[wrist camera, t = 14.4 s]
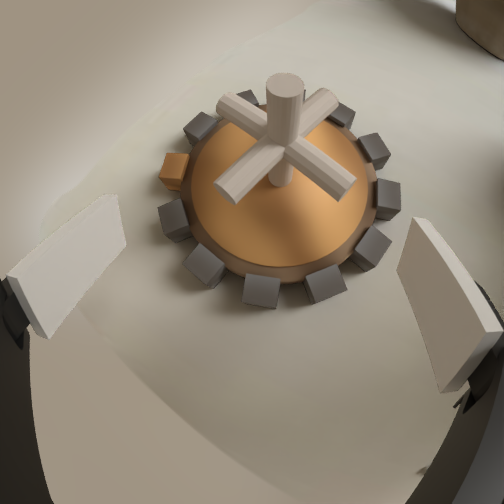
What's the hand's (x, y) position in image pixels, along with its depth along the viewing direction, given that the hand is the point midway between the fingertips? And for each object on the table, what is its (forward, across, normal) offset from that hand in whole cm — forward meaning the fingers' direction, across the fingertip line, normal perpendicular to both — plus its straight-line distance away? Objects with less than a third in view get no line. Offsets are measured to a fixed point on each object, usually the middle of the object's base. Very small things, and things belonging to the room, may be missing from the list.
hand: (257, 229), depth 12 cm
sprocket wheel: (+13, 0, -3) cm, 13 cm away
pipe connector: (+11, 0, -1) cm, 11 cm away
